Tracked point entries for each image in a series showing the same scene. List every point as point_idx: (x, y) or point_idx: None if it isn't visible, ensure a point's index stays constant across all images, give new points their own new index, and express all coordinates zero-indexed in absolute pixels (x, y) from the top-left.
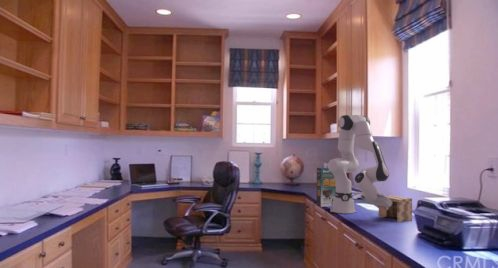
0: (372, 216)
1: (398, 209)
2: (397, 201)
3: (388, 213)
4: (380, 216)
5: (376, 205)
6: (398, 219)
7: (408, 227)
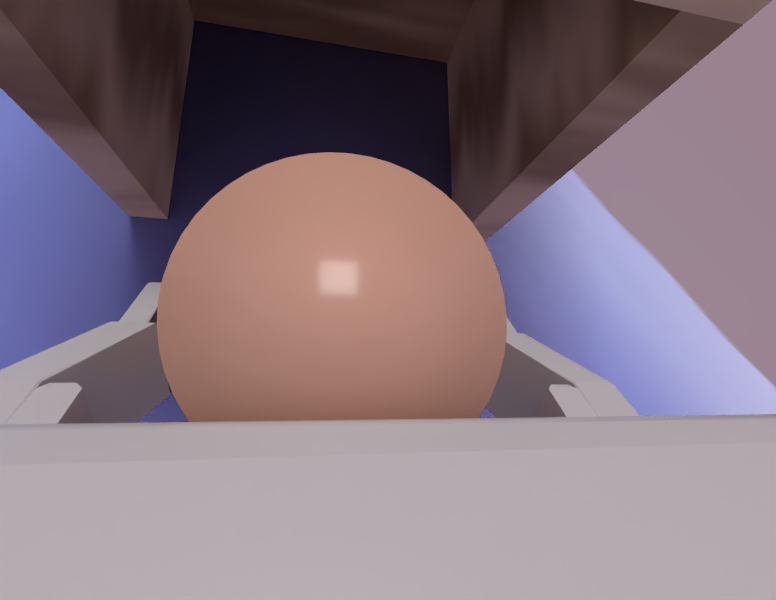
0: (2, 264)
1: (573, 154)
2: (703, 2)
3: (169, 49)
4: (140, 211)
5: (129, 417)
6: (487, 232)
7: (736, 405)
